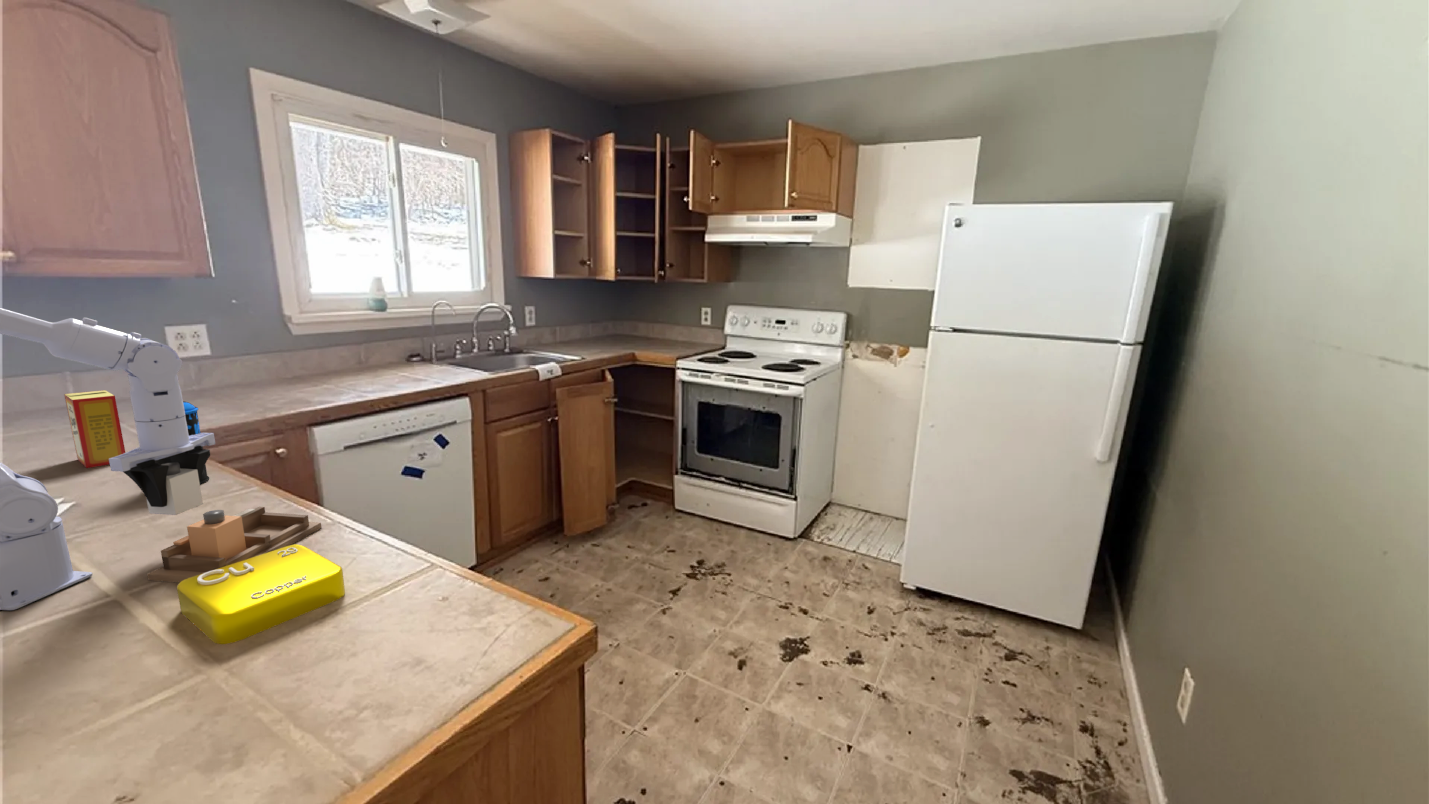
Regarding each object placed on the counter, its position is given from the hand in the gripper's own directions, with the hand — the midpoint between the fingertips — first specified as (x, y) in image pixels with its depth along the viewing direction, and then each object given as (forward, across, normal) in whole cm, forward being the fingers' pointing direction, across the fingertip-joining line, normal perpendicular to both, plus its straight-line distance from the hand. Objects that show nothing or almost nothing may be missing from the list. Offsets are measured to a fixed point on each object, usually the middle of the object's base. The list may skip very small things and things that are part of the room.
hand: (175, 499), depth 92 cm
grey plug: (+2, 0, 0) cm, 2 cm away
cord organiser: (+8, 0, -10) cm, 13 cm away
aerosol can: (+9, +27, +28) cm, 39 cm away
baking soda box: (+9, +37, +59) cm, 70 cm away
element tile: (+9, -12, -25) cm, 30 cm away
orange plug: (+8, -4, -10) cm, 13 cm away
